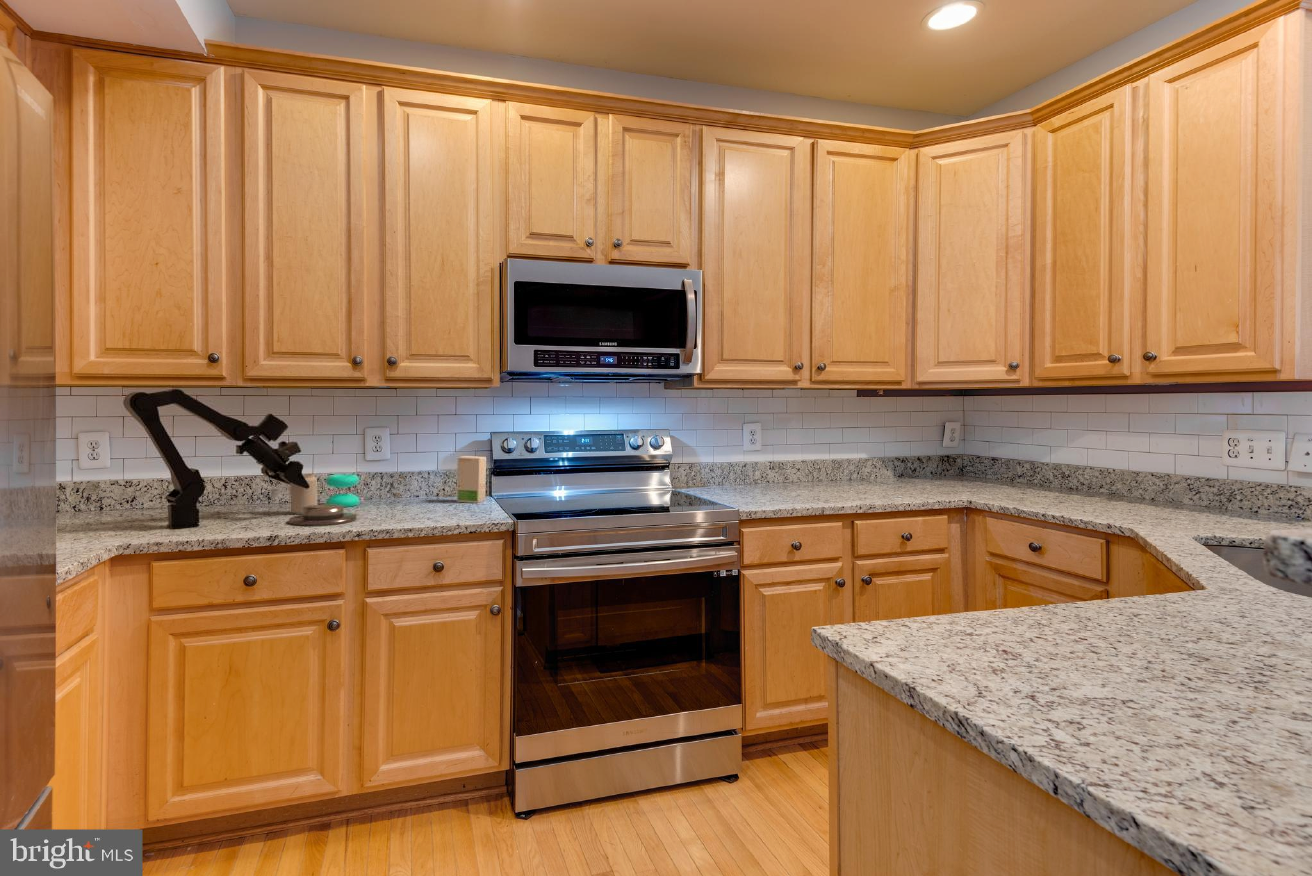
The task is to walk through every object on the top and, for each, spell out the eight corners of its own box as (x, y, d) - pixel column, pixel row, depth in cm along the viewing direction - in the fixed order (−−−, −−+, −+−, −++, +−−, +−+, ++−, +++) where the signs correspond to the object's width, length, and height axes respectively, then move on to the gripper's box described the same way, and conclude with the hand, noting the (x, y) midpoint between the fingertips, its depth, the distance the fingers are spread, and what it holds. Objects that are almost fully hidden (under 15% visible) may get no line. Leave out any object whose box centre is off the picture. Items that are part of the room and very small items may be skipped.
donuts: (365, 474, 250) (346, 477, 240) (365, 504, 250) (346, 508, 240) (338, 473, 252) (319, 476, 242) (339, 502, 252) (319, 507, 243)
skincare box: (456, 502, 255) (455, 457, 254) (464, 499, 261) (463, 455, 260) (479, 503, 254) (479, 457, 253) (486, 500, 260) (486, 456, 259)
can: (307, 515, 227) (306, 476, 226) (285, 514, 228) (284, 475, 228) (322, 511, 234) (322, 473, 234) (301, 510, 236) (300, 472, 235)
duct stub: (304, 528, 205) (304, 514, 205) (278, 520, 217) (278, 507, 217) (367, 520, 218) (367, 507, 218) (339, 513, 230) (339, 500, 230)
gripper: (295, 434, 219) (333, 468, 228) (270, 431, 232) (307, 464, 241) (267, 463, 214) (308, 497, 223) (244, 458, 226) (283, 491, 235)
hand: (302, 486), depth 231 cm, fingers open, 9 cm apart
